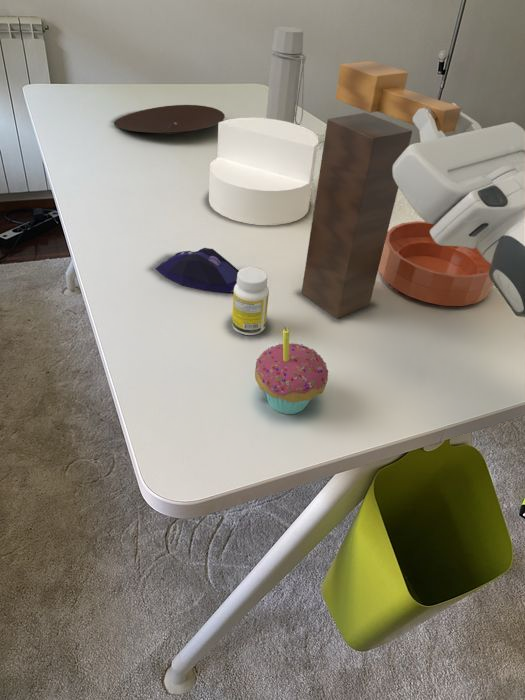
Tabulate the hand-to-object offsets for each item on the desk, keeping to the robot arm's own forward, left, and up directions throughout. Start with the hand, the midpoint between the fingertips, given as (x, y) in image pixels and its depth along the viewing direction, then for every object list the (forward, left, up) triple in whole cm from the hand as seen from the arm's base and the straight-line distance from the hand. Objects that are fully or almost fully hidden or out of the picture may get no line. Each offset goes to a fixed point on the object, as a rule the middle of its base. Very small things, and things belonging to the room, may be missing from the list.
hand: (432, 109), depth 61 cm
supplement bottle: (+17, +6, -30) cm, 35 cm away
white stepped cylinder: (+25, -35, -30) cm, 53 cm away
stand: (+6, -5, -30) cm, 31 cm away
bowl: (-9, -17, -30) cm, 35 cm away
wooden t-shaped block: (+4, -3, -2) cm, 6 cm away
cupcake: (+9, +19, -30) cm, 37 cm away
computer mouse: (+27, -5, -30) cm, 41 cm away
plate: (+57, -71, -30) cm, 96 cm away
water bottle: (+28, -73, -30) cm, 84 cm away
